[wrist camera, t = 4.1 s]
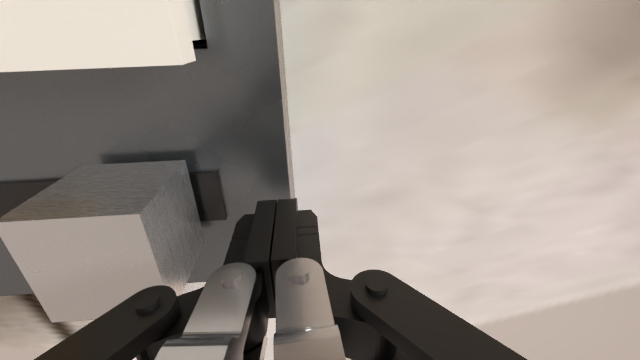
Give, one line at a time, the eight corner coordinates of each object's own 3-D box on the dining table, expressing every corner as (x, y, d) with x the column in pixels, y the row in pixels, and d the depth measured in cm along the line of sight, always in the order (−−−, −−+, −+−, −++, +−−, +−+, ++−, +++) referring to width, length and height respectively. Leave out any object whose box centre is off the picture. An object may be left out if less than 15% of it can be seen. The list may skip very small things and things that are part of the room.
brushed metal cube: (81, 165, 12) (-8, 222, 9) (185, 159, 12) (139, 213, 9) (115, 246, 14) (51, 322, 10) (205, 240, 14) (173, 313, 11)
